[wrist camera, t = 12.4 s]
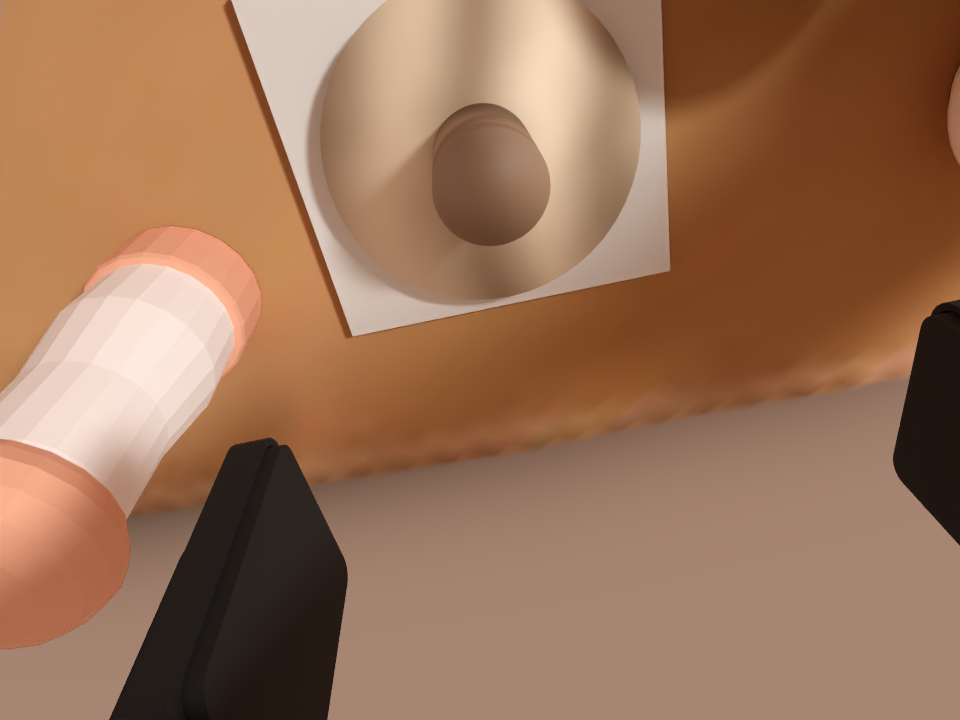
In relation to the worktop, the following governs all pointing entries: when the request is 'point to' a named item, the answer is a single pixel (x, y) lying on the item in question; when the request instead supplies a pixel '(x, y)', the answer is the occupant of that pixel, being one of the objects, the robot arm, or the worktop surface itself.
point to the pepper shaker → (109, 418)
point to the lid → (480, 141)
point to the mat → (356, 275)
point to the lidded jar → (954, 116)
